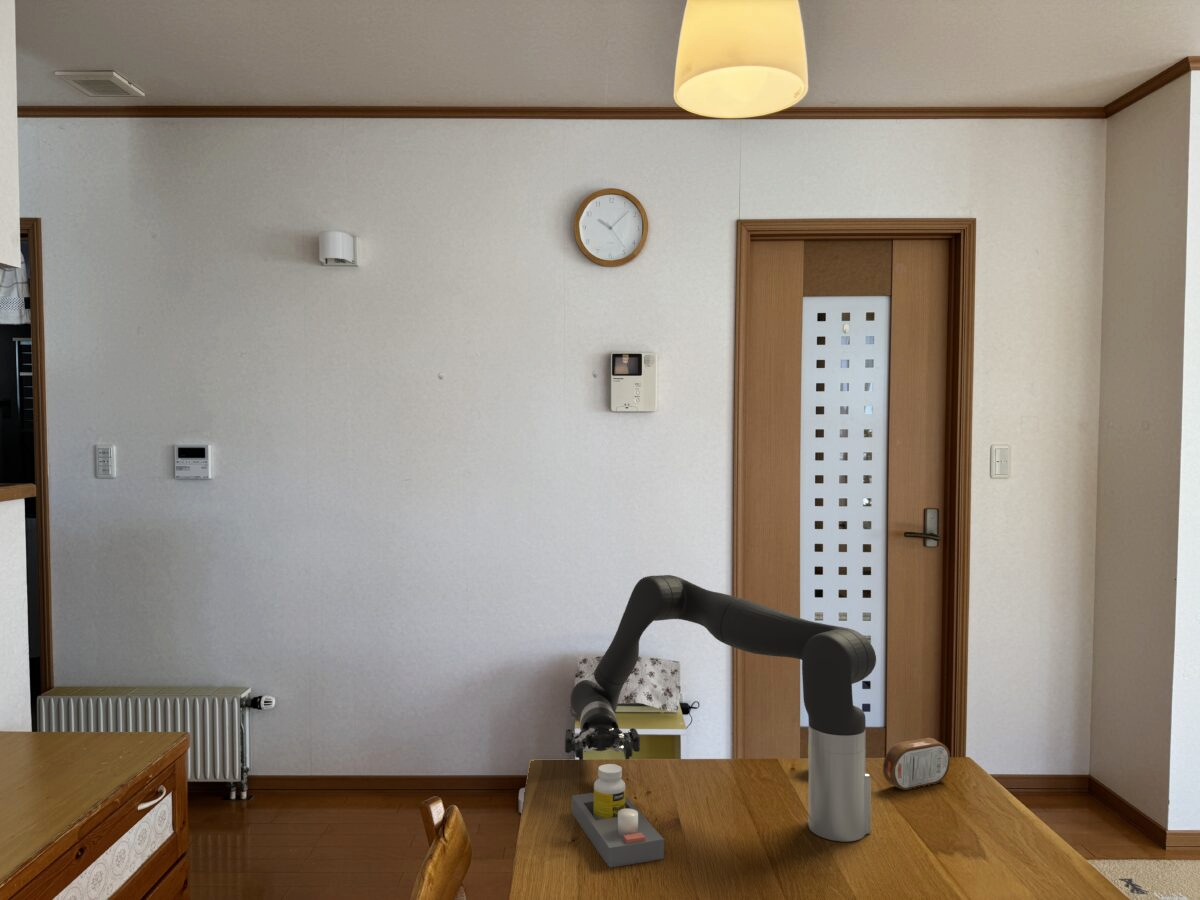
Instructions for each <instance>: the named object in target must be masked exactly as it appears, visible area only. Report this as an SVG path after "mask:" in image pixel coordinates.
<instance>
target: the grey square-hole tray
mask: <svg viewBox="0 0 1200 900" xmlns="http://www.w3.org/2000/svg"><path fill="white" fill-rule="evenodd" d="M593 809H594V792H587V793H580V794H573V795H571V814H572V815H573V817H574V819H575V820H576V821H577V823H578V824H579V826H580V827H581V829H582V828H583V829H582V830H583V832H584V833H585V834H586V836H587V837H588V839H589V841H590V842H591V843H592V844H593V846H594V848H595V849H596V851H597V852H598V853H599V856H600V857H601V858H602V859H603V861H604V862H605V864H606V863H607V864H606V865H607V867H608V866H609V867H608V868H609V869H611V868H616V867H622V866H623V867H624V866H628V865H633V864H640V863H641V864H642V863H647V862H653V861H658V860H659V861H660V860H665V839H664V838H663V837H662V835H661V834H660V833H659V832H658V830H656V828H655V827H654V826H653V825H652V823H650V822H649V820H648V819H647V818H646V816H644V814H642V812H641V811H640V810H639V809H638V808H637V807H636V805H635V804H634V803H633V802H632V801H631V800H630V799H629V797H627V795H626V796H625V809H621V810H619V811H618V817H615V818H608V819H601V820H595V818H594V817H593Z"/></svg>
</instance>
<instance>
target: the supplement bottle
mask: <svg viewBox="0 0 1200 900" xmlns="http://www.w3.org/2000/svg"><path fill="white" fill-rule="evenodd" d="M622 775H623V768H622V766H620V765H618V764H615V763H605V764H602V765H599V766H598V771H597V776H598V778H597V779H596V780H595V781H594V783H593V793H594V809H593V817H594V818H595V820H601V819H608V818H615V817H618V811H619V810H621V809H625V796H626V797H627V795H626V794H627V793H626V792H627V791H626V787H627V786H626V783H625V780H623V779H622V777H623V776H622Z"/></svg>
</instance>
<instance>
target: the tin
mask: <svg viewBox="0 0 1200 900" xmlns="http://www.w3.org/2000/svg"><path fill="white" fill-rule="evenodd" d="M950 763H951V754H950V751H949V748H948V747H947V746H946V745H945V744H943V743H942V742H941V741H938V740H937V739H935V738H932V737H926V738H920V739H915V740H913V739H912V740H908V741H901V742H898V743H895V744H894V745H893V746H892V747H891V748H890V749H889V750H888V751H887V752H886V755H885V756H884V760H883V764H882V772H883V776H884V779H885V780H886V781H887V783H888V784H890V785H892V786H894V787H896V788H898V789H899V790H904V791H907V790H913V789H917V788H916V787H918V788H921V787H920V786H923V787H927V786H926V785H928V786H931V785H930V784H933V785H936V784H935V783H937V784H938V783H940V782H942V780H944V779H945V778H946V776H947V774H948V772H949V770H950ZM912 788H913V789H912Z"/></svg>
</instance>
